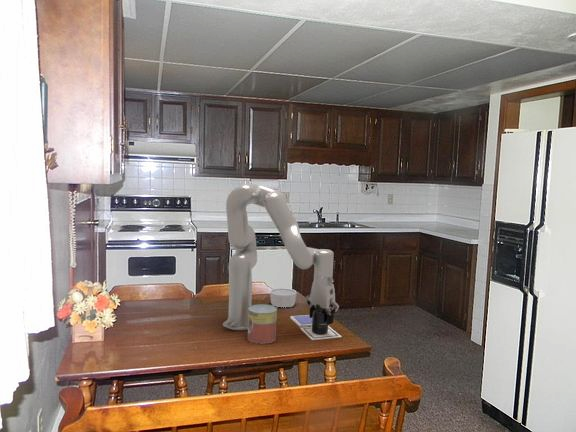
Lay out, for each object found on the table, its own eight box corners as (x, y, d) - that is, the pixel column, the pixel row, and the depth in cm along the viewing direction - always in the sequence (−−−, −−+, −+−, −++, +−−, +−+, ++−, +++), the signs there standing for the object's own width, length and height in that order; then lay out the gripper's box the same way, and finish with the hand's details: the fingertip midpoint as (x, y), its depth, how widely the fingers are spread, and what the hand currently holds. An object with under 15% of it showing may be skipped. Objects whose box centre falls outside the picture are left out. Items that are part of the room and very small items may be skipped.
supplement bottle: (322, 336, 174) (323, 307, 172) (308, 332, 178) (309, 303, 177) (331, 331, 179) (332, 303, 178) (317, 327, 183) (319, 300, 182)
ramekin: (266, 301, 219) (267, 288, 218) (291, 300, 223) (291, 287, 222) (273, 309, 206) (274, 295, 205) (299, 308, 210) (300, 294, 209)
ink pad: (325, 325, 188) (325, 322, 188) (299, 327, 184) (300, 325, 184) (314, 316, 199) (314, 314, 199) (290, 318, 195) (290, 315, 195)
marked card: (341, 337, 175) (341, 336, 174) (312, 340, 170) (312, 339, 170) (328, 326, 187) (328, 325, 187) (300, 328, 182) (300, 327, 182)
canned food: (244, 334, 174) (245, 305, 172) (270, 331, 178) (271, 303, 176) (251, 345, 163) (252, 314, 162) (279, 342, 167) (281, 312, 166)
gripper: (345, 282, 172) (343, 324, 174) (314, 274, 185) (312, 313, 187) (333, 285, 167) (330, 328, 169) (301, 276, 180) (299, 316, 182)
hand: (321, 320), depth 178 cm, fingers open, 9 cm apart
